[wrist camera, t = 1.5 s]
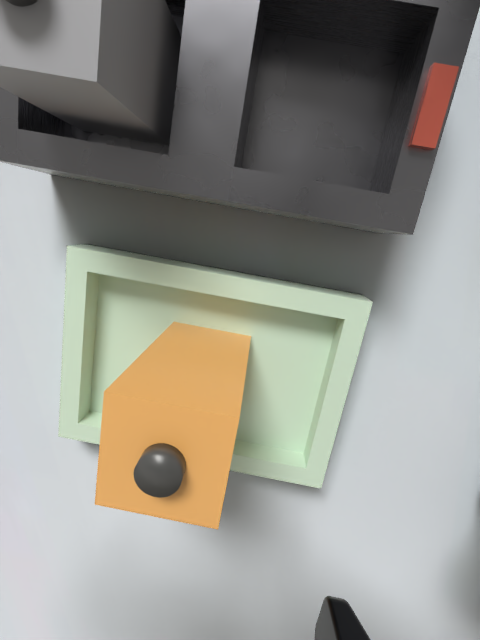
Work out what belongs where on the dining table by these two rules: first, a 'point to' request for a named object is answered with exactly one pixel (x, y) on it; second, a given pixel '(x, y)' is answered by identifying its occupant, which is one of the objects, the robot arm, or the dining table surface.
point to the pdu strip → (283, 111)
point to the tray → (226, 315)
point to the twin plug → (94, 63)
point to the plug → (174, 426)
